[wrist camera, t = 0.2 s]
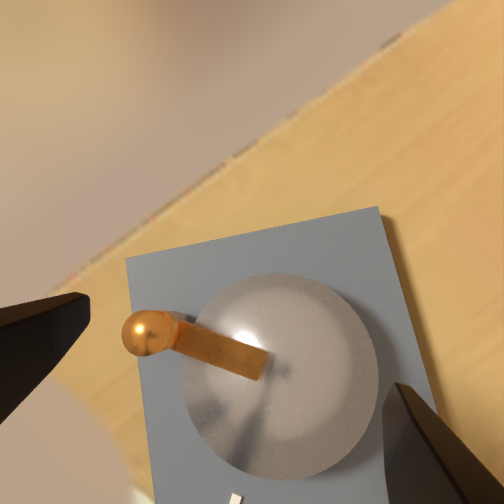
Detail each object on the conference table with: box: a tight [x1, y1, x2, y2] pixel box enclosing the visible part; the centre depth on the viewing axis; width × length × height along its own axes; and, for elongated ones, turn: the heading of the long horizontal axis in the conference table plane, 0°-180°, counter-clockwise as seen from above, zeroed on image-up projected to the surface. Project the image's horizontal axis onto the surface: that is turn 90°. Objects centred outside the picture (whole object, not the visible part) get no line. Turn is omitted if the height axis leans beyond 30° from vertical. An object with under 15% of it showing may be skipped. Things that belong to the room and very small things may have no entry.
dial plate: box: [126, 206, 438, 504], centre depth 23 cm, size 19×19×2 cm
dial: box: [122, 273, 379, 480], centre depth 19 cm, size 15×12×6 cm
